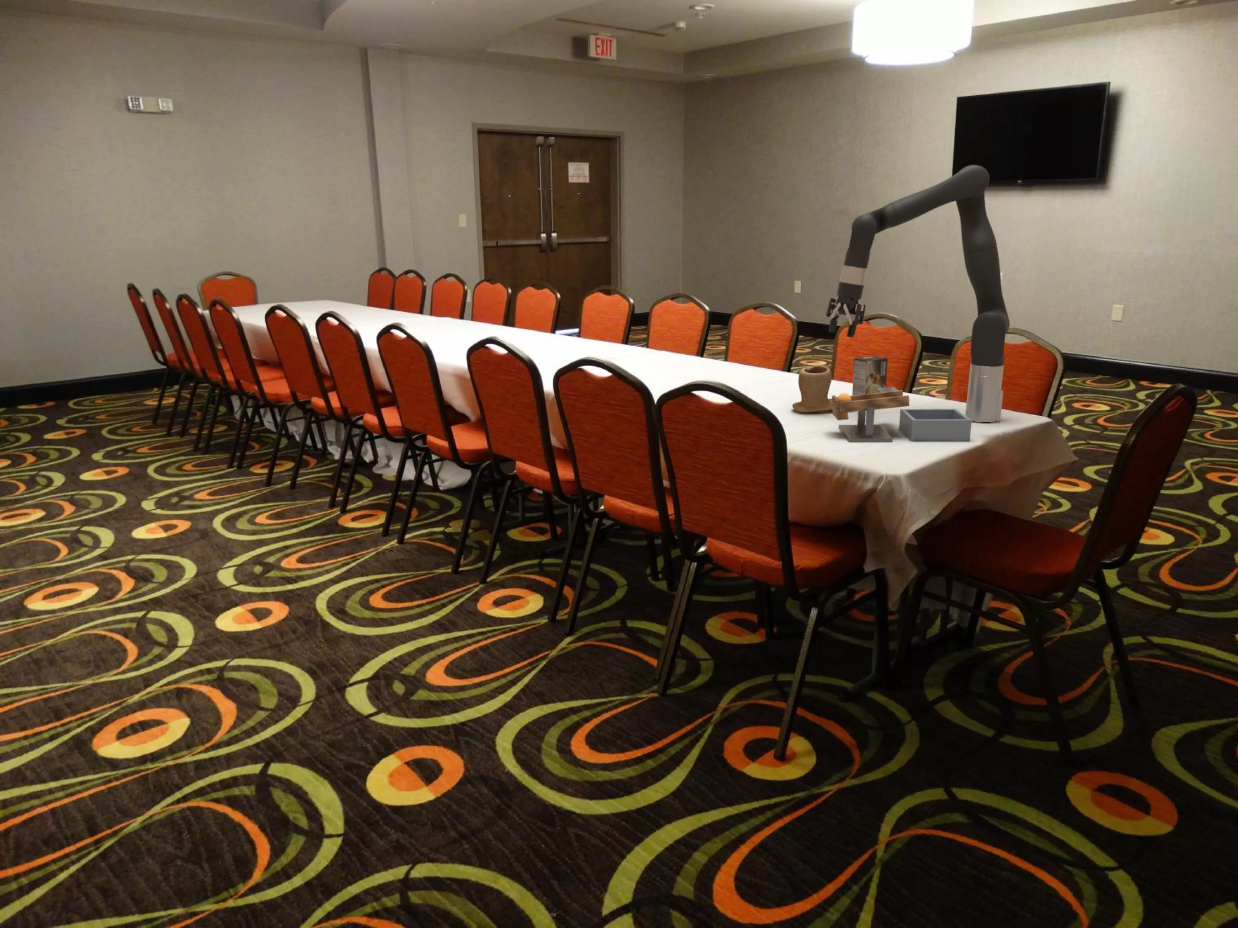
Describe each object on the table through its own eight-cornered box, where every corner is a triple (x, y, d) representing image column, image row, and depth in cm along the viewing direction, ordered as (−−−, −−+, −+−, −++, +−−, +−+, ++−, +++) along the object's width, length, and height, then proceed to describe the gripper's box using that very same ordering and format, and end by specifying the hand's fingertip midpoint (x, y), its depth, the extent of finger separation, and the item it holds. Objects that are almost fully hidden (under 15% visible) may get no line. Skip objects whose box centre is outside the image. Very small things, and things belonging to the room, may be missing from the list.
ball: (851, 402, 243) (847, 390, 242) (854, 405, 239) (850, 392, 238) (838, 407, 244) (834, 394, 243) (840, 410, 240) (836, 397, 239)
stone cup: (800, 417, 266) (802, 370, 262) (788, 408, 278) (790, 363, 273) (846, 414, 268) (849, 368, 264) (832, 406, 279) (834, 361, 275)
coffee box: (871, 402, 284) (874, 355, 279) (885, 406, 278) (888, 358, 274) (850, 405, 280) (853, 357, 275) (864, 409, 274) (867, 360, 270)
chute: (894, 399, 254) (893, 381, 252) (910, 413, 236) (909, 394, 235) (827, 406, 256) (826, 388, 254) (838, 420, 238) (836, 401, 237)
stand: (879, 428, 251) (881, 396, 248) (892, 442, 235) (894, 408, 233) (838, 428, 252) (840, 396, 249) (848, 442, 236) (850, 408, 234)
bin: (954, 428, 248) (955, 408, 247) (969, 441, 235) (971, 420, 233) (898, 428, 249) (900, 409, 248) (911, 441, 236) (913, 420, 234)
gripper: (877, 286, 252) (865, 339, 257) (845, 280, 264) (835, 331, 269) (858, 284, 249) (846, 338, 253) (827, 278, 261) (816, 329, 265)
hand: (840, 334), depth 261 cm, fingers open, 8 cm apart
